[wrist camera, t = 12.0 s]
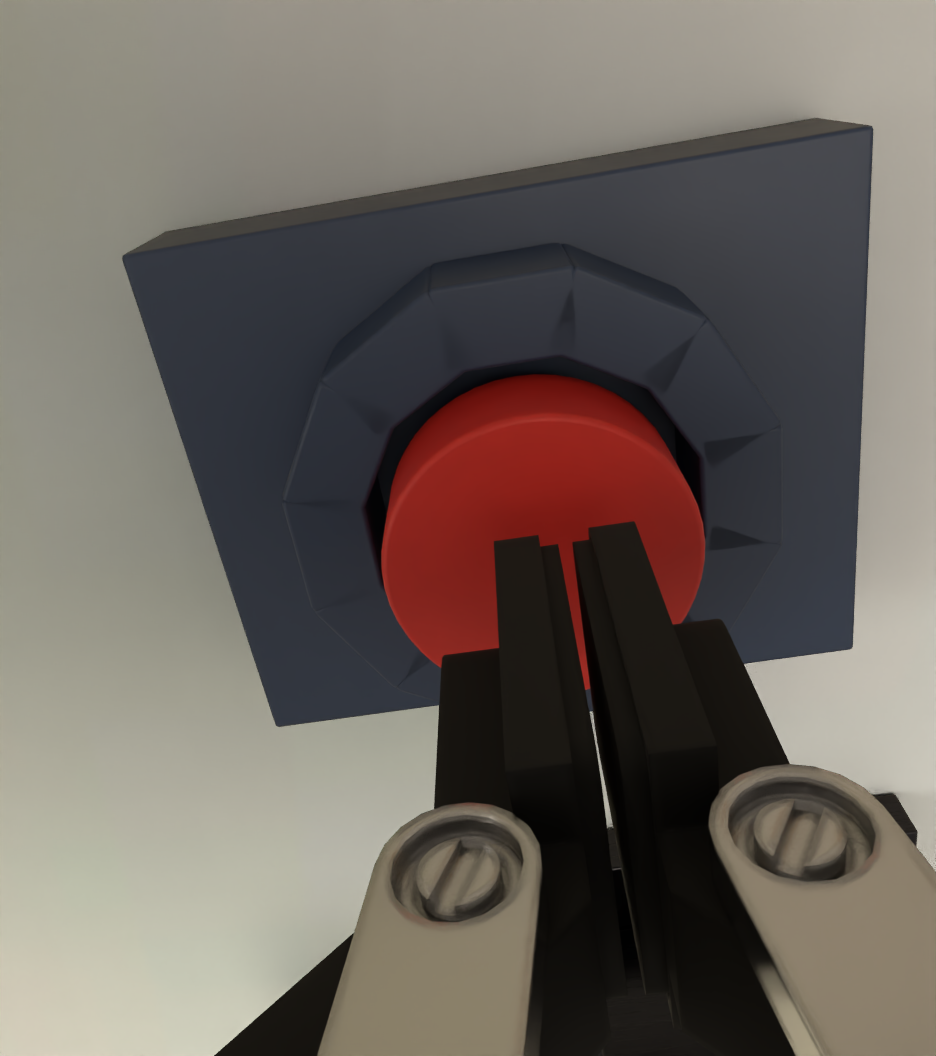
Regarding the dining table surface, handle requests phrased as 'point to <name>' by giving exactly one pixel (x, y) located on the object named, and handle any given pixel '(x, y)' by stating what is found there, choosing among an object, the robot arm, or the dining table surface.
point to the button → (528, 504)
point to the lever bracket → (645, 1020)
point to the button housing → (524, 349)
